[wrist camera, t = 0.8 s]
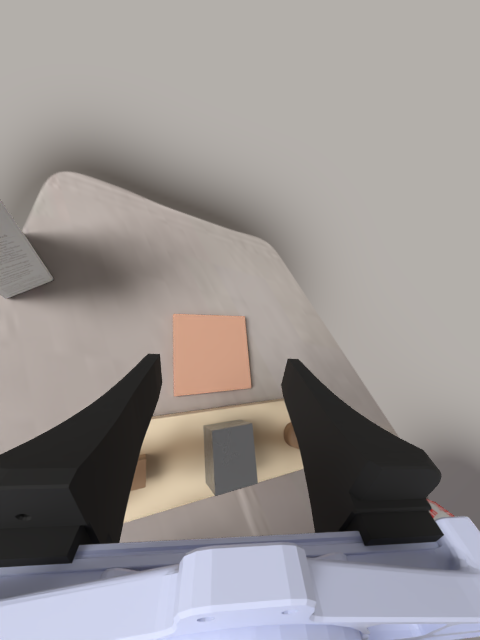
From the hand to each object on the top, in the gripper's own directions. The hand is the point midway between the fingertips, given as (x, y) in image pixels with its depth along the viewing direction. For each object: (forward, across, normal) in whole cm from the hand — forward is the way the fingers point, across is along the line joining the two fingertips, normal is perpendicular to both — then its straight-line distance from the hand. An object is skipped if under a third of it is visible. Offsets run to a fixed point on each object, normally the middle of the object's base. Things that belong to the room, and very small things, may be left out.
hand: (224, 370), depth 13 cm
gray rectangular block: (+4, -1, +14) cm, 14 cm away
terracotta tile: (+12, +1, +8) cm, 15 cm away
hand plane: (+5, 0, +15) cm, 16 cm away
